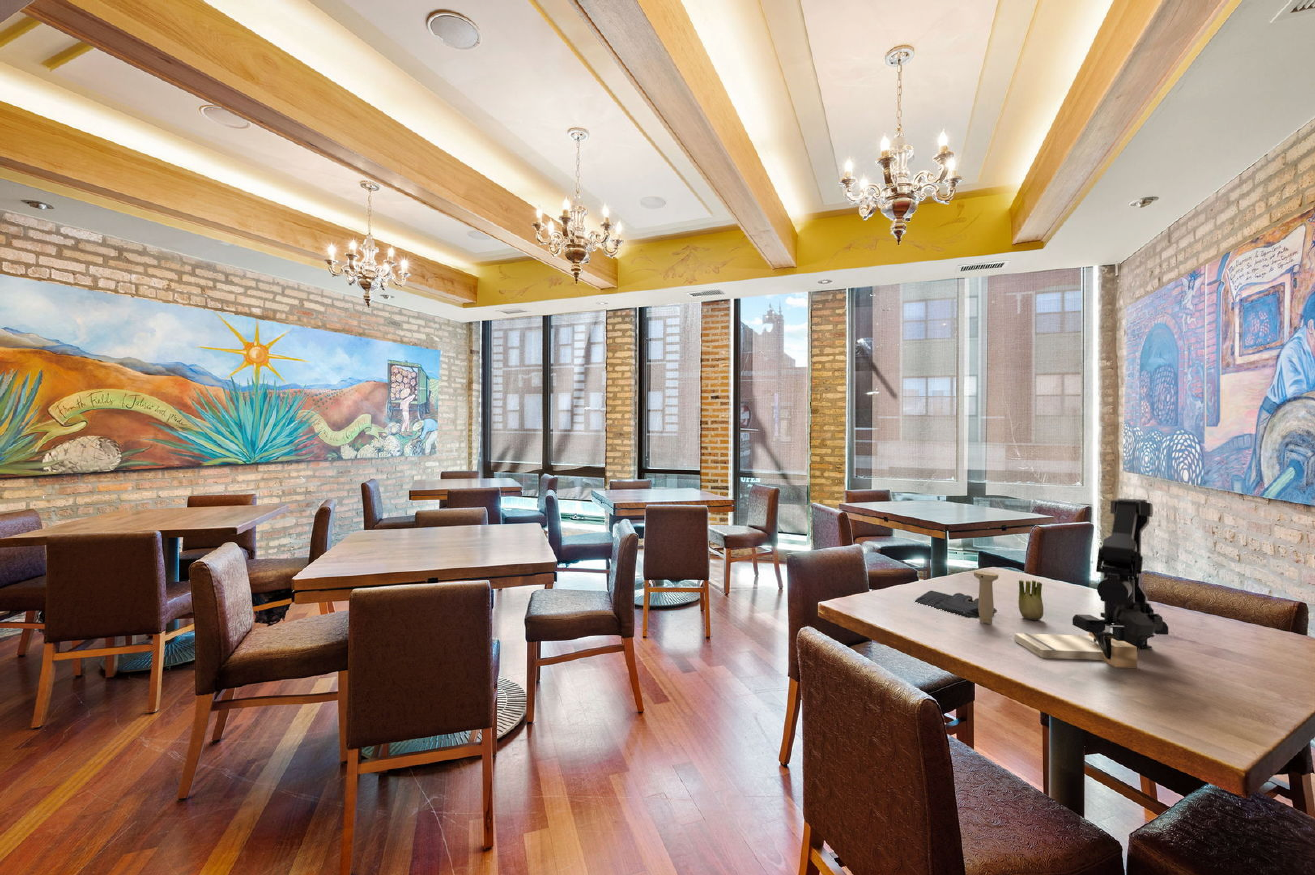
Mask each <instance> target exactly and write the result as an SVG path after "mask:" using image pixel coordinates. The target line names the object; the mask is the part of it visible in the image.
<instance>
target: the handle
mask: <svg viewBox="0 0 1315 875" xmlns="http://www.w3.org/2000/svg"><path fill="white" fill-rule="evenodd" d="M973 576H974V577H975V578H977V579H978V582H979V587H978V588H979V589H978V598H979V600H978V602H979V603H978V609H979V616H980V617H979V618H978V619H979V622H980V623H982V624H984V623H986V624H987V625H991V624H993V616H994V613H993V611H994V608H995V607H994V604H995V603H994V591H993V582H994V581H997V580H998V579H999V574H998V573H995V572H992V571H991V572H990V571H986V570H974V571H973ZM990 623H991V624H990ZM986 624H985V625H986Z"/></svg>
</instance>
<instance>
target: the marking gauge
mask: <svg viewBox="0 0 1315 875" xmlns="http://www.w3.org/2000/svg"><path fill="white" fill-rule="evenodd" d="M1088 636H1091V637H1093V638H1094V642H1097V640H1096V638H1095V637H1094V635H1093V633H1091V632H1088ZM1102 661H1103V662H1105V663H1107V664H1109V665H1111V666H1112V667H1114V668H1127V669H1129V668H1130V669H1131V668H1132V669H1133V668H1134V669H1138V652H1137V647H1136V646H1133V645H1131V644H1129V643H1127V642H1125V641H1117V640H1115V639H1111V659H1107V658H1106V657H1105V655H1104V653H1103V660H1102Z"/></svg>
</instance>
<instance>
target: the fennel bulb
mask: <svg viewBox="0 0 1315 875" xmlns="http://www.w3.org/2000/svg"><path fill="white" fill-rule="evenodd" d="M1042 587H1043V583H1042V582H1041V581H1036V580H1026V581H1025V583H1024V580H1023V579H1020V580H1019V581H1018V588H1019V589H1018V609H1019V613H1020V615H1021V617H1023V618H1024V619H1026V620H1029V621H1039V620H1041V619H1042V618H1043V616H1044V605H1043V604H1044V603H1043V598H1042V590H1043V589H1042Z"/></svg>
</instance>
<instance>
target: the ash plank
mask: <svg viewBox="0 0 1315 875" xmlns="http://www.w3.org/2000/svg"><path fill="white" fill-rule="evenodd" d="M1014 642H1016V643H1018V644H1019V645H1021V646H1023V647H1024V648H1025V649H1027V650H1029V651H1030V652H1031V653H1033V654H1035V655H1037V656H1038V657H1040V658H1042V659H1068V660H1098V661H1103V651H1102V649H1101V647H1100V645H1099V643H1098V642H1094V638H1093V637H1091V636H1089V635H1081V634H1078V635H1076V634H1074V635H1073V634H1047V633H1045V634H1044V633H1042V634H1041V633H1027V632H1024V633H1017V632H1016V633H1014Z"/></svg>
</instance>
